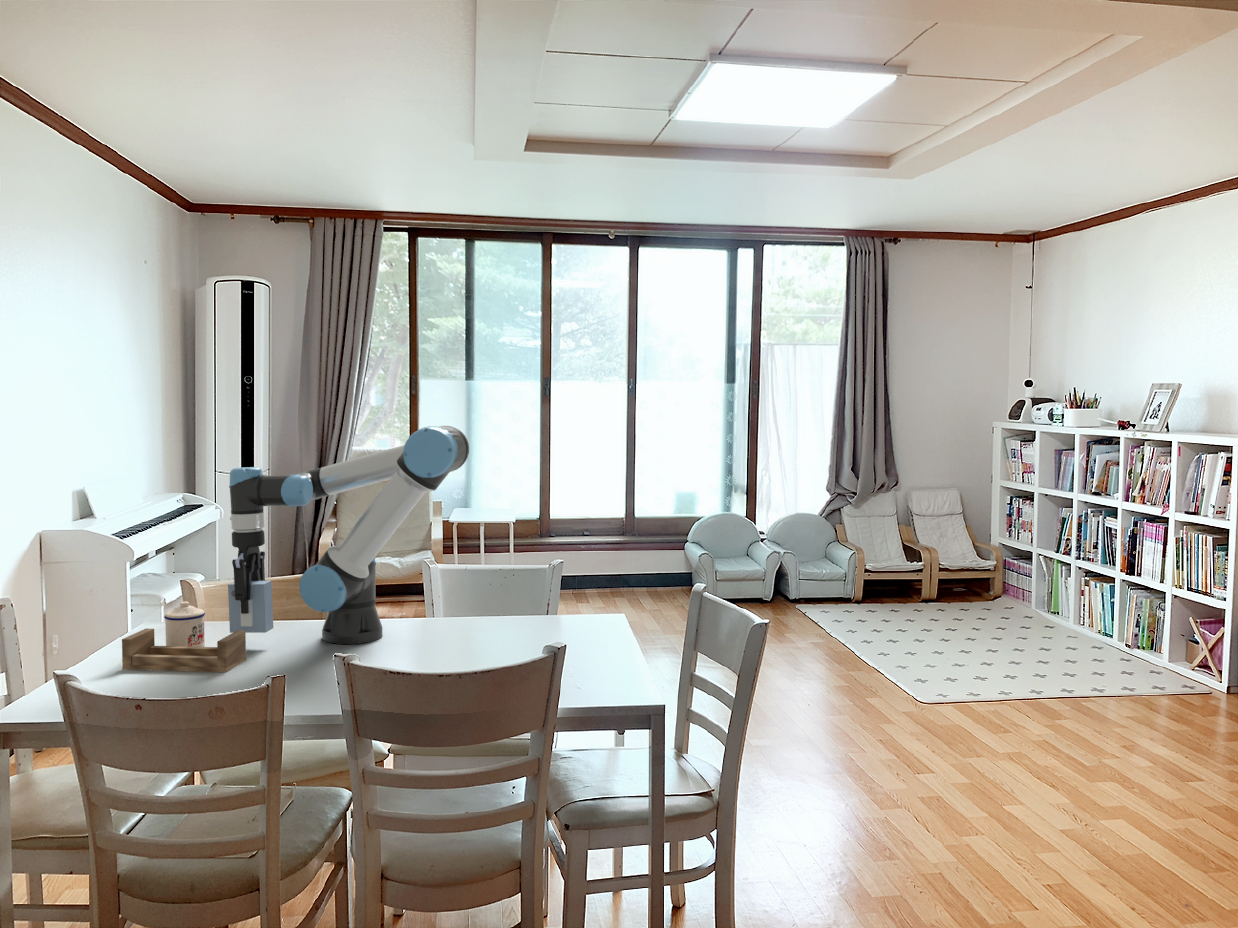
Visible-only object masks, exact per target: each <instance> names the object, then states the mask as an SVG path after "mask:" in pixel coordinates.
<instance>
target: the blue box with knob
mask: <svg viewBox="0 0 1238 928" xmlns="http://www.w3.org/2000/svg"><path fill="white" fill-rule="evenodd" d="M272 584H273V582H272V580H265V581H251V592H250V599H252V611H253V626H241V615H240V600H235V587H234V581H233V582H231V583H229V584H227V591H228V592H227V593H228V595H227V597H228V616H229V617H228V621H229V633H231V634H232V633H234V632H236V631H245V632H246V633H247V634H248V633H250V634H253V633H255V634H256V633H263V634H264V633H265V634H266V633H268V632H269V631H271V630H273V629H274V613H273V611H274V609H273V585H272Z"/></svg>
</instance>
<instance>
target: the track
mask: <svg viewBox="0 0 1238 928" xmlns="http://www.w3.org/2000/svg"><path fill="white" fill-rule="evenodd" d="M246 638H247V637H246V632H245V631H236V632H234V633H231V634H228V635H227V636H224V637H223V638H221V639H219V640H217V642H216V646H217V647H216V646H215V647H213V646H204V647H186V646H166V645H155V628H144V629H141V630H140V631H137V632H134V633H133V634H131V635H127V636H125V637H123V638H122V639H121V656H122V657H121V658H122V659H121V661H122V663H121V666H122V670H125V671H126V670H128V671H129V670H130V671H161V672H162V671H166V672H168V671H169V672H171V671H172V672H201V673H203V672H205V673H207V672H208V673H210V672H211V673H228V672H229V671H231V670H232V669H234V668H237V666H239V665H240V664H242V663H243V662H245V661H246V660H247V651H246V650H247V646H246V643H247V642H246Z"/></svg>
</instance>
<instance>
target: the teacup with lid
mask: <svg viewBox="0 0 1238 928" xmlns="http://www.w3.org/2000/svg"><path fill="white" fill-rule="evenodd" d="M205 615H206V612H205V610H204V609H201V608H198V607H196V606H193V605H190V603H189V601H181V602H180V604H179V606H177V607H175V608H173V609H171V610H169V611H167V612H165V613H164V617H163V618H164V619H165V621H164V622H165V646H186V647H206V646H205V645H206V644H205Z"/></svg>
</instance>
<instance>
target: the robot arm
mask: <svg viewBox="0 0 1238 928" xmlns="http://www.w3.org/2000/svg"><path fill="white" fill-rule="evenodd" d="M469 454H470V444H469V440H468V438H467V437H466V435H465V434H464V433H463V432H462V431H461V430H460V429H459V428H456V427H454V426H453V425H452V426H451V425H438V426H437V425H430V426H424V427H421V428H420V429H418V430H416V431H414V432H413V433H412V434H410V435H409V437H408V438H407V440H406V441H405V443H404V444H403V445H399V446H396V447H392V448H388V449H385V450H382V451H378V452H374V453H371V454H367V455H362V456H359V457H355V458H351V459H348V460H344V461H341V462H337V463H333V464H330V465H326V466H322V467H318V468H314V469H310V470H306V471H302V472H296V473H290V474H285V475H283V474H282V475H281V474H280V475H266V474H264V473H263V470H262V468H261V467H257V466H256V467H255V466H250V467H248V466H247V467H244V466H243V467H235V468H233V469H231V470H230V473H229V486H228V488H229V493H230V495H229V496H230V509H231V510H230V516H229V520H230V521H231V523H230V524H231V530H233V531H232V532H231V545H232V546H233V548H237V549H238V552H237V558H236V559H232V561H231V565H232V567H233V580H234V581H233V582H234V587H235V600H240V615H241V626H253V611H252V599H250V592H251V581H266V577H265V576H266V574H265V573H266V572H265V557H266V552H265V551H262V550H261V551H260V547H261V546H264V545H265V543H266V539H265V530H264V528H265V514H264V507H270V506H271V507H292V508H293V507H294V508H295V507H302V506H303V507H305V506H307V505H308V504H310V502H311V501H315V500H319V499H321V498H326V497H328V496H332V495H336V494H340V493H344V492H347V491H352V490H355V489H359V488H362V487H367V486H370V485H374V484H378V483H382V482H386V481H388V482H387V483H386V484H385V486H383V488H382V489H381V491H379V493H378V495H377V496H376V497H375V499H374V500H373V501H372V502H371V503H370V505H369V506H368V508H367V509H365V511H364V513H362V515H361V517H359V519H358V520H357V521H356V522H355V524H354V525H353V526H352V528H351V529H350V530H349V532H348V533H347V534H346V535H345V537H344V538H343V539H342V541H341V542H340V543H339V545H338V544H337V545H331V546H329V547H328V549H327V550H326V551H325V552H324V554H323V555H322V556H321V557H320V558H319V560H318V561H316V564H313V565H311V566H310V567H308V568H307V569H306V570H305V571H304V572H303V573H302V574H301V577H300V579H299V583H298V584H299V585H298V588H299V594H300V596H301V599H302V600H303V602H304V603H305V605H306V606H308V608H309V609H312V610H314V611H316V612H319V613H327V615H326V617H325V620H324V623H323V627H322V630H321V631H322V632H321V639H322V641H324V642H326V643H331V644H335V645H336V644H337V645H339V644H340V645H353V644H354V645H356V644H363V643H369V642H372V641H373V642H374V641H376V640H379V639H380V638H381V639H382V637H383V625H382V621H381V619H380V616H379V614H378V610H377V606H376V565H377V561H376V556H377V555H379V552H380V551H381V549H383V547H384V546H385V544H387V542H388V541H389V540H390V539H391V538H392V536H393V535H394V533H395V532H396V531H397V530H398V528H399V527H400V526H401V524H403V522H404V520H405V519H406V518H407V517H408V515H409V514H410V513H411V511H412V510H413V509H414V508H415V506H417V504H418V503H419V502H420V500H421V499H422V498H423V496H424V495H425V494H426V493H428V492H435V491H436V490H437V489H438V488H439V487H440V485H441V484H442V483H443V481H444V480H445V479H446V478H447V476H448V475H449V473H452V472H454V471H457V470H459V469H461V467H462V466H463V465H464V464H465V463H466V461H467V460H468V457H469Z"/></svg>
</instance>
